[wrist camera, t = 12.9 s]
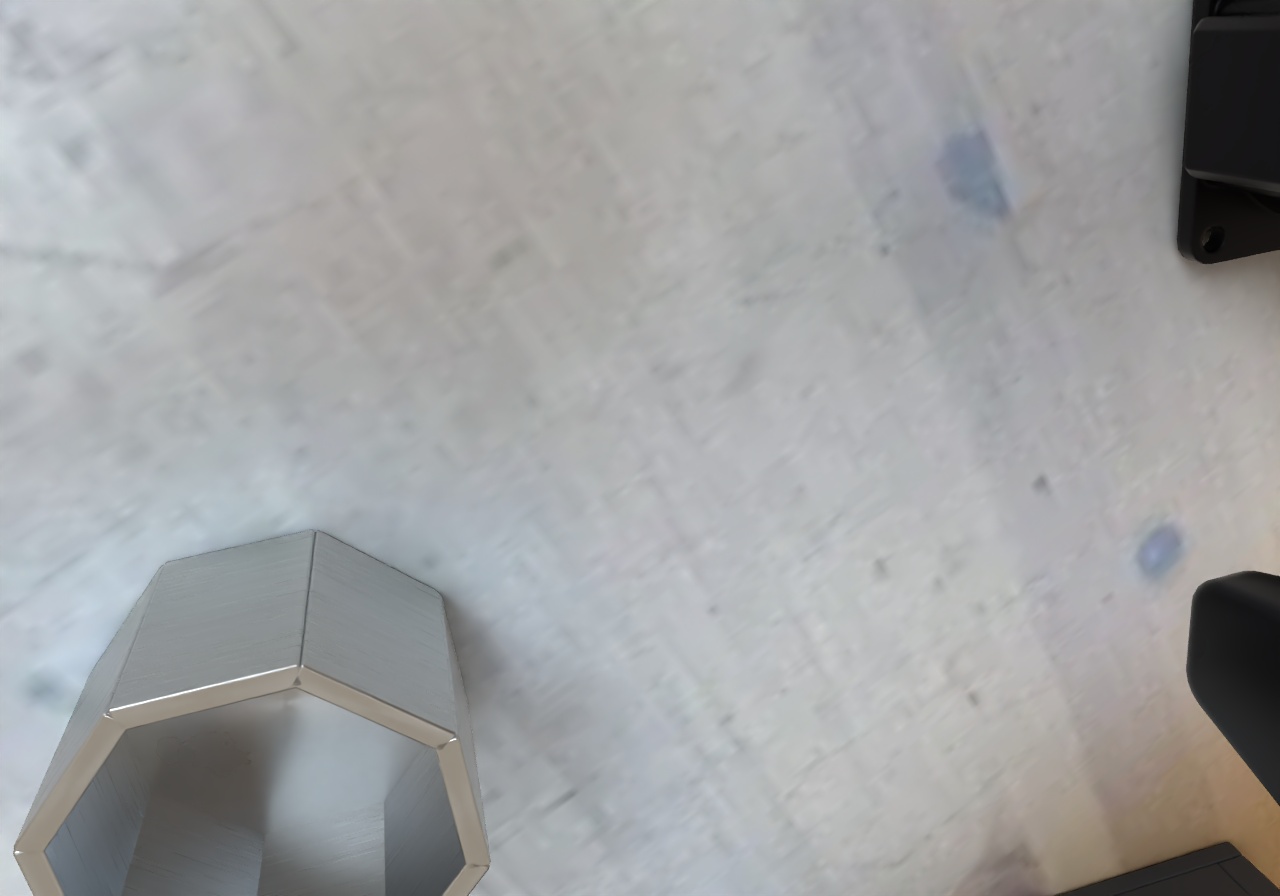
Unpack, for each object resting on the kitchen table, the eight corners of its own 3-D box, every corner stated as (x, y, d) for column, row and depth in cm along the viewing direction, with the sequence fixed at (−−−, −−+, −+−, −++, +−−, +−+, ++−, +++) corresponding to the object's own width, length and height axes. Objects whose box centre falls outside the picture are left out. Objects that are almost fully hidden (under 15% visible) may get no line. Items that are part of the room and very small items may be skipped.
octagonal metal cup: (419, 504, 19) (432, 631, 15) (487, 777, 22) (512, 950, 18) (51, 586, 18) (-43, 746, 14) (167, 863, 21) (116, 1067, 17)
